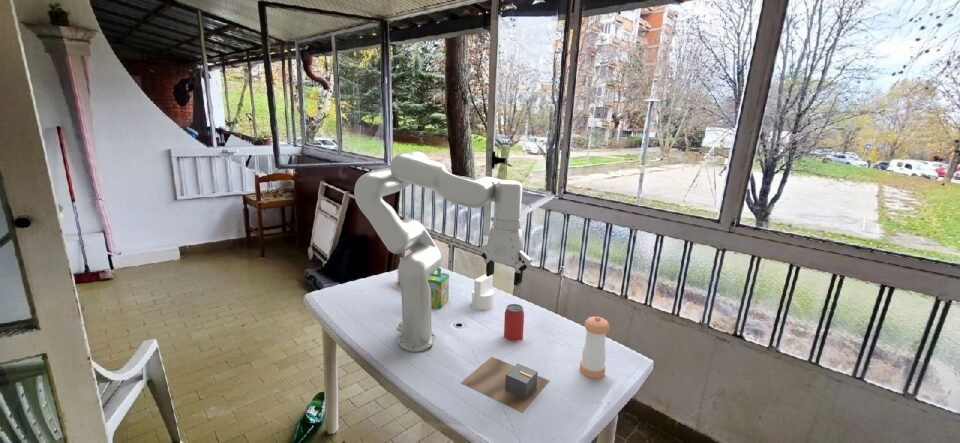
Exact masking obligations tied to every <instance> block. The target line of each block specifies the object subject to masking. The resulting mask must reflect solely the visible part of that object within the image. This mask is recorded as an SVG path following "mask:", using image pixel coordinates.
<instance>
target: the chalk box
mask: <svg viewBox="0 0 960 443" xmlns="http://www.w3.org/2000/svg"><path fill="white" fill-rule="evenodd" d="M428 283H429V286H430V289H431V308H436V309H441V308H442V307H443V306H444V305H445V304H446V303H447V301H449V292H450V291H449V290H450V289H449V288H450V274H449V273H446V272H442V268H441V267H439V268H438V269H437V270H436V271H435V272H433V273H432V274H431V275H430V276H429V277H428Z"/></svg>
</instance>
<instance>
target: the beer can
mask: <svg viewBox="0 0 960 443" xmlns="http://www.w3.org/2000/svg"><path fill="white" fill-rule="evenodd" d="M524 312H525V311H524V308H523V306H522V305H521V304H517V303H510V304H508V305H507V306H506V308H505V312H504V322H503V323H504V325H503V326H504V327H503V338H505V339H506V340H508V341H513V342H515V341H520V342H521V341H523V339H524V326H525V323H524V322H525V313H524Z"/></svg>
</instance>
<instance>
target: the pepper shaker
mask: <svg viewBox="0 0 960 443" xmlns="http://www.w3.org/2000/svg"><path fill="white" fill-rule="evenodd" d="M584 328H585V329H586V330H585V331H586V333H585V334H586V335H585V342H584V346H583V349H582V355H581V360H580V363H579V371H580V373H581V374H583V376H585V377H587V378H590V379H600V378H603V377H604V376H605V374H606V365H605V364H606V363H605V362H606V338H607V337H606V336H607V333H608V332H609V331H610V328H611V327H610V324H609V322H608V320H606V319H605V318H603V317H600V316H589V317H588V318H587V319H586V320H585V322H584Z"/></svg>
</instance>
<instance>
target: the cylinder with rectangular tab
mask: <svg viewBox="0 0 960 443" xmlns="http://www.w3.org/2000/svg"><path fill="white" fill-rule="evenodd" d="M493 279H494V274H493V275H491V276H489V277H487V276H486V273H485V274H483V275H481V276H479V277H477V278H476V279H475V278H474V283H473V284H474V285H473V286H474V288H473V289H472V291H471V306H472V308H473V309H475V310H477V311H489V310H492V309H493V308H495V293H496V292H495V290H494V289H493V286H494V285H493V282H494V280H493Z"/></svg>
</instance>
